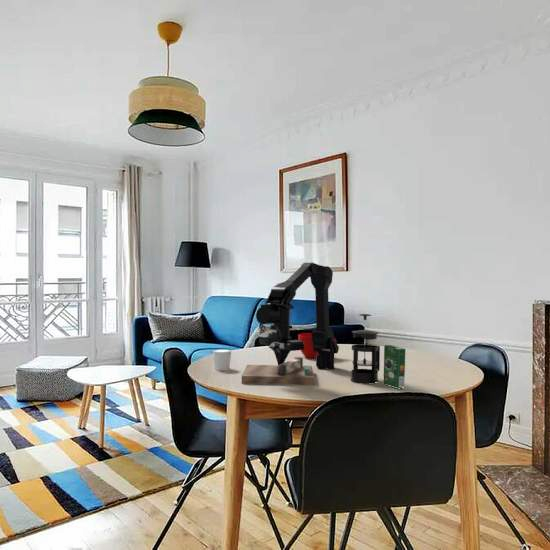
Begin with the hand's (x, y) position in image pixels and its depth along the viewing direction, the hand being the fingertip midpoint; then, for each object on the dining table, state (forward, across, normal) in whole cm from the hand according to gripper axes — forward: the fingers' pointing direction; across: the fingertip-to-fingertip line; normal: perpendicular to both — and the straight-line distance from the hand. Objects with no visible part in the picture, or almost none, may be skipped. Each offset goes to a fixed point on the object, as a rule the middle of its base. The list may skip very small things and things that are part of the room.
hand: (280, 367), depth 163 cm
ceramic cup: (+5, -26, +41) cm, 48 cm away
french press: (+4, +19, +23) cm, 30 cm away
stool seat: (+4, -2, +1) cm, 4 cm away
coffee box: (+4, +30, +24) cm, 39 cm away
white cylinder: (+5, -26, -8) cm, 28 cm away
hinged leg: (+1, +1, +4) cm, 4 cm away
